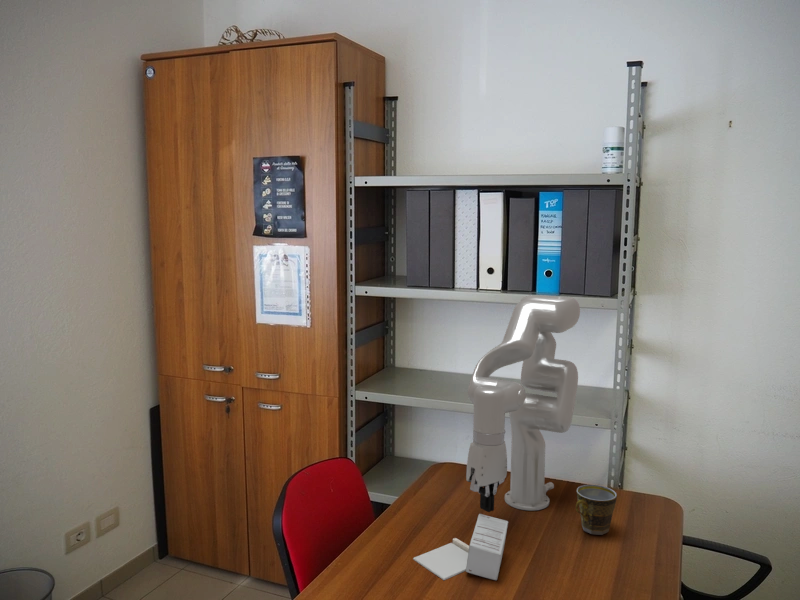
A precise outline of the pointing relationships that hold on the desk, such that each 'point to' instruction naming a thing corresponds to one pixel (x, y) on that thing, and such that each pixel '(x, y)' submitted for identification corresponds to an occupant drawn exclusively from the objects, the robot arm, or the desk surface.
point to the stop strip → (461, 545)
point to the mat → (444, 561)
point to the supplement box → (487, 547)
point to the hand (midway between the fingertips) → (486, 509)
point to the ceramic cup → (596, 508)
